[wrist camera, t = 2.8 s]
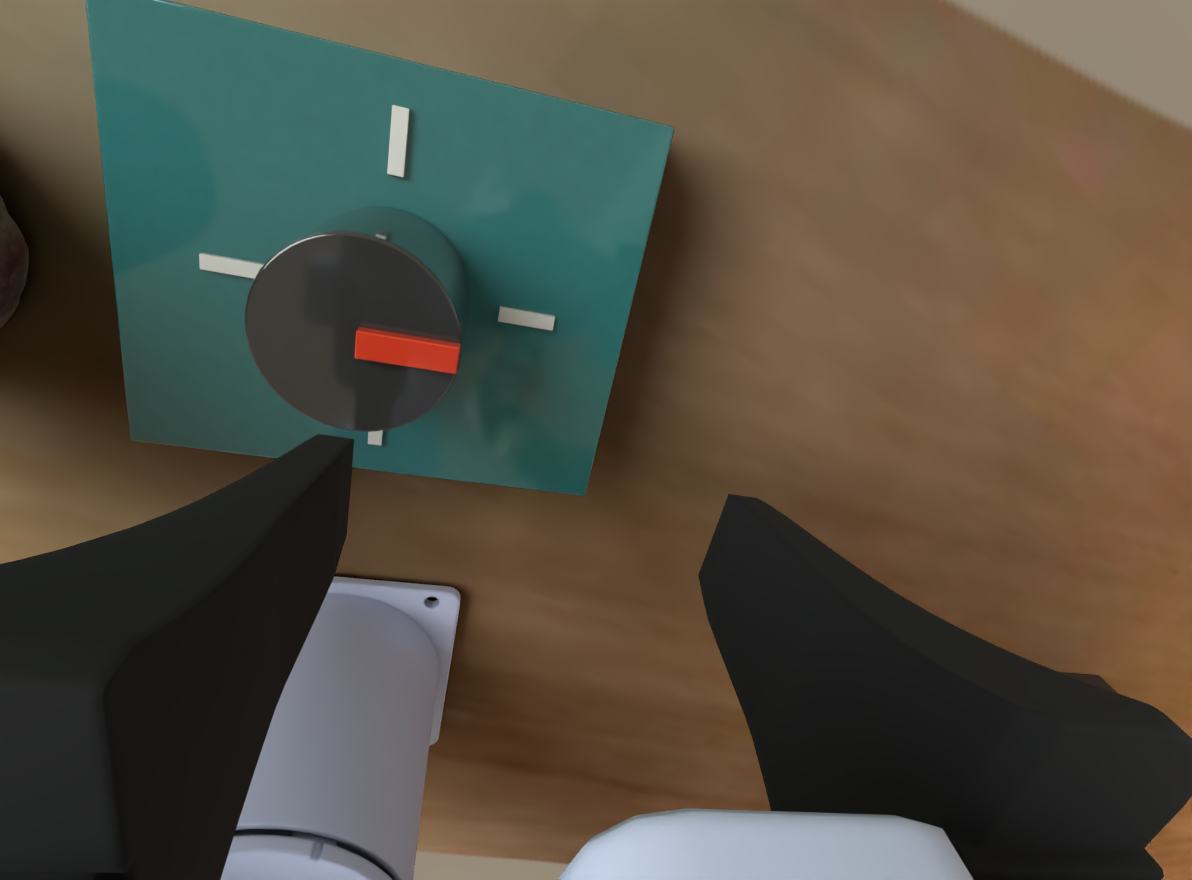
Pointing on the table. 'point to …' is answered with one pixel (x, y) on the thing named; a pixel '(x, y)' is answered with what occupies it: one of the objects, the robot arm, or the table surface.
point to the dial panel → (354, 180)
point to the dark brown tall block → (11, 264)
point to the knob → (361, 319)
